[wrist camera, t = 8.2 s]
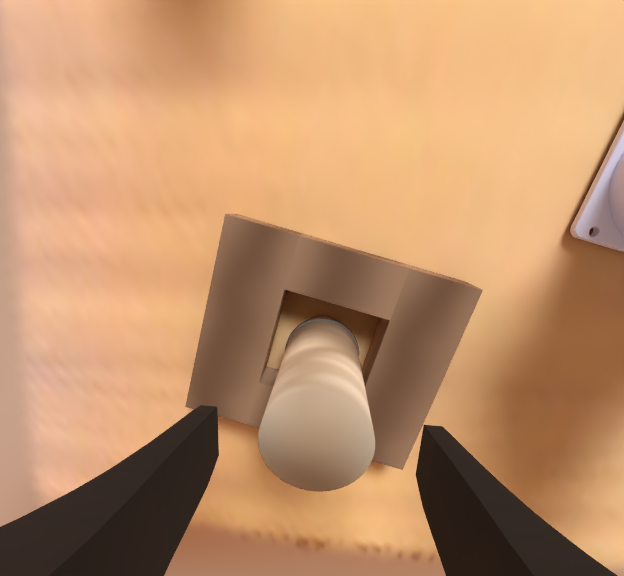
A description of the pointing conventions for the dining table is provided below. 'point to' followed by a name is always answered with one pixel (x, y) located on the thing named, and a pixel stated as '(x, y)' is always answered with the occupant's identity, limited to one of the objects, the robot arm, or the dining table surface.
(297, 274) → the walnut board
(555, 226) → the dining table surface
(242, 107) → the dining table surface
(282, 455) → the ash peg
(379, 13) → the dining table surface
